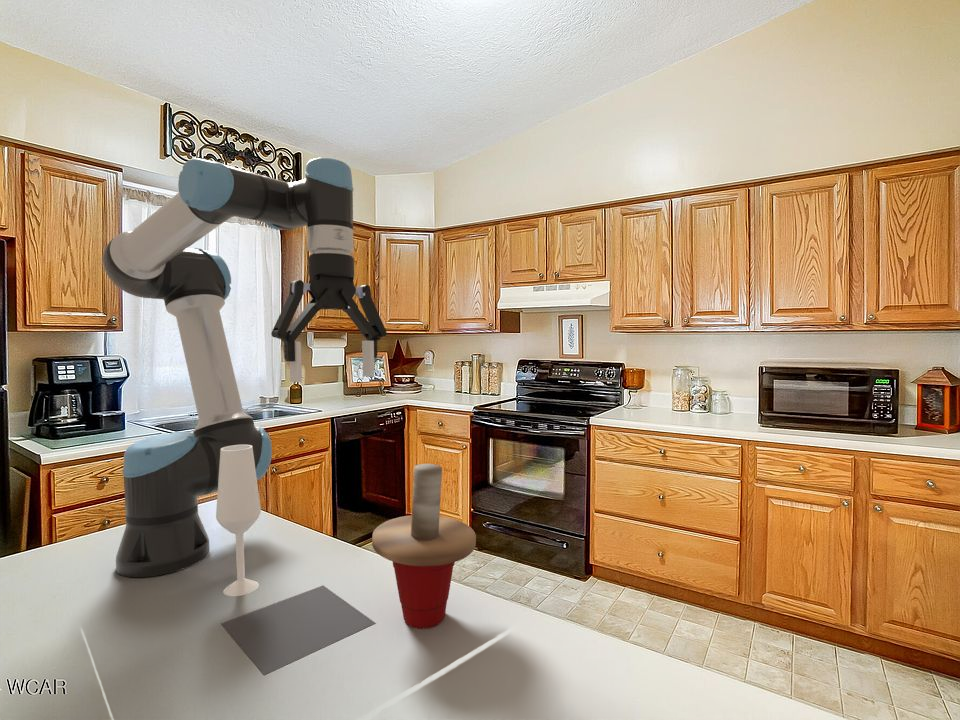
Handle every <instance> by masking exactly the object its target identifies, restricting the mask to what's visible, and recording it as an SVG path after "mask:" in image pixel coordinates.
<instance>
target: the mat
mask: <svg viewBox="0 0 960 720" xmlns="http://www.w3.org/2000/svg"><path fill="white" fill-rule="evenodd" d="M375 624H377V623H376V622H375V621H373V620H372V618H370V617H368V616H367V615H365V614H364V613H362V612H361V611H360V610H358V609H356V608H355V607H354V606H353V605H352V604H350V603H348V602H347V601H345V599H343V598H342V597H340V596H339V595H337V594H336V593H335V592H333V591H332V590H331V589H329V588H328V587H326V586H325V585H320V586H318V587H315V588H312V589H310V590H306V591H304V592H301V593H299V594H295V595H293V596H291V597H288V598H284V599H282V600H280V601H277V602H274V603H272V604H269V605H266V606H264V607H261V608H258V609H256V610H253V611H251V612H248V613H245V614H243V615H239V616H237V617H235V618H232V619H229V620H227V621H224V622H221V623H220V625H221V626H222V627H223V628H224V630H225V631H226V632H227V634H229V635H230V637H231V638H232V639H233V641H234V642H235V643H236V644H237V645H238V647H240V649H241V650H242V651H243V652H244V654H246V655H247V657H248V658H249V659H250V661H251V663H253V664H254V666H256V668H257V669H258V670H259V671H260V672H261V674H262V675H263V676H266V675H268V674H270V673H273V672H274V671H276V670H278V669H280V668H283V667H286V666H287V665H289V664H291V663H294V662H296V661H299V660H300V659H302V658H304V657H307V656H309V655H312V654H313V653H316V652H318V651H320V650H321V649H324V648H326V647H328V646H330V645H333V644H334V643H336V642H339V641H341V640H343V639H345V638H348V637H350V636H352V635H354V634H356V633H358V632H360V631H363V630H366V628H369V627H371V626H373V625H375Z"/></svg>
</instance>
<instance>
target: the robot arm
mask: <svg viewBox="0 0 960 720" xmlns="http://www.w3.org/2000/svg"><path fill="white" fill-rule="evenodd" d="M304 175H305V178H304V179H300V180H298V181H293V182H287V181H283V180H281V179H276V178H272V177H269V176H265V175H263V174H257V173H255V172H252V171H249V170H248V171H247V170H244V169H241V168H237V167H234V166H231V165H227V164H224V163H222V162H219V161H213V160H207V159H204V158H203V159H202V158H190V159H188V160H187V161H186V162H184V164H183V165H182V170H181V171H180V173H179V175H178V181H177V182H178V183H177V185H178V186H177V187H178V192H177V193H176V194H175V195H174V196H173V197H171V198H170V199H169V200H168V201H167V202H165V203H164V204H163V205H161V206H160V207H159V208H158V209H156V211H154V212H153V213H152V214H151V215H149V216H148V217H147V218H146V219H145V220H144V221H142V222H141V223H140V224H139V225H138V226H136V228H134V229H133V230H130V231H129V230H128V231H123V232H121V233H118V234H117V235H116V236H115V237H113V238H112V239H111V240H110V241H109V242H108V243H107V244H106V247H105V248H104V251H103V253H102V254H103V255H102V265H103V269H104V271H105V273H106V275H107V277H108V278H109V280H110V281H111V282H112V284H114V285H115V286H116V287H117V288H119V290H121V291H124V292H125V293H127V294H128V295H131V296H134V297H137V298H142V299H153V300H154V299H155V300H157V299H158V300H163V301H164V305H165V311H166V312H167V313H169V314H170V315H172V316H174V317H175V319H176V323H177V326H178V328H177V329H178V331H179V332H178V333H179V337H180V341H181V346H182V349H183V354H184V359H185V364H186V368H187V372H188V376H189V382H190V386H191V391H192V394H193V399H194V404H195V408H196V414H197V418H198V423H197V425H196V426H195V427H194V428H193V430H192V432H191V431H176V432H170V433H163V434H157V435H154V436H150V437H146V438H144V439H141V440H138V441H136V442H134V443H132V444H131V445H130V446H128V447H127V448H126V450H125V451H124V454H123V466H122V467H123V468H122V472H121V473H122V476H123V487H124V488H123V490H124V491H123V493H124V511H125V528H124V531H123V533H122V538H121V540H120V544H119V547H118V549H117V553H116V556H115V569H116V573H118V574H119V575H120V576H123V577H128V578H129V577H130V578H147V577H150V578H151V577H157V576H161V575H167V574H171V573H175V572H178V571H181V570H184V569H187V568H189V567H191V566H193V565H197V564H198V563H199V562H201V561H203V560H204V559H205V558H206V557H208V555H209V554H210V551H211V550H210V549H211V547H210V538H209V536H208V534H207V532H206V529H205V526H204V524H203V522H202V520H201V517H200V515H199V508H198V507H199V505H198V504H199V502H198V501H199V499H198V497H202V496H206V495H210V494H213V493H218V479H219V465H220V450H221V448H223V447H227V446H232V445H252V447H253V455H254V462H255V469H256V477H257V481H258V480H260V479H262V478H263V477H264V476H265V475H266V473H267V472H268V470H269V466H270V465H271V461H272V456H273V446H272V441H271V438H270V436H269V433H268V432H266V430H265V429H264V428H263V427H261V426H255V423H254V422H255V421H254V418H253V417H252V416H250V414H247V413H245V412H244V409H243V403H242V400H241V396H240V392H239V388H238V383H237V378H236V375H235V371H234V367H233V363H232V358H231V355H230V350H229V346H228V341H227V337H226V334H225V329H224V324H223V321H222V317H221V312H220V311H221V309H222V308H223V307H224V306H225V304H226V300H227V298H228V297H229V296H230V293H231V291H232V288H231V286H230V285H231V284H232V277H231V272H230V268H229V266H228V264H227V263H226V261H225V260H224V259H223V258H222V256H220V255H219V254H217V253H216V252H214V251H211V250H204V249H202V248H199V247H192V248H190V247H191V246H192V245H194V244H195V243H197V242H198V241H200V240H201V239H202V238H204V237H205V236H207V235H208V234H209V233H211V232H212V231H213V230H216V229H217V228H218V227H219V226H220V225H222V224H224V223H225V222H227V221H228V220H229V219H231V218H233V217H235V218H236V217H237V218H241V219H248V220H251V221H252V220H253V221H258V222H263V223H265V225H267V226H268V227H269V228H271V229H273V230H277V231H283V230H286V231H291V230H294V229H298V228H301V227H307V251H308V252H309V253H310V254H309V256H308V257H307V258H308V259H307V260H308V261H307V265H308V268H307V269H308V277H309V281H308V282H304V281H303V280H301V279H298V280H293V281H290V284H289V294H288V296H287V298H286V300H285V303H284V304H283V307H282V309H281V311H280V314H279V315H278V318H277V320H276V322H275V324H274V326H273V328H272V330H271V337H273V338H276V339H278V340H281V341H282V342H283V352H284V353H283V356H284V358H283V359H284V361H285V362H289V378H290V379H289V381H290V382H292V383H302V382H303V378H302V377H303V373H302V372H303V371H302V369H303V368H302V366H303V365H302V342H301V341H296V340H297V339H298V337H299V336H300V335H301V333H302V332H303V331H304V330H305V329H306V327H307V326H308V325H309V323H310V322H311V321H312V320H313V318H314V317H315V316H316V315H317V313H318V312H319V311H320V310H332V311H333V310H334V311H341V310H342V311H343V312H344V313H346V314H347V316H348V317H349V318H350V319H351V321H352V322H353V324H355V326H356V328H357V329H358V330H359V332H360V333H361V334H362V335H363V337H364V338H365V339H366V340H362V341H361V352H362V353H361V356H362V358H361V359H362V362H361V363H362V377H366V378H367V377H368V378H375V359H376V358H378V341H379V340H381V338H383V337H386V336H387V334H388V333H387V329H386V328H385V325H384V323H383V320H382V318H381V316H380V314H379V312H378V309H377V306H376V305H375V303H374V300H373V298H372V292H371V286H370V285H369V284H364V285H363V284H362V285H360V286H355V283H354V279H355V259H354V257H353V256H352V254H354V253H355V252H354V250H355V248H354V208H353V207H354V203H353V202H354V198H353V196H354V193H353V192H354V185H353V178H352V177H353V176H352V169H351V167H350V166H349V165H348V164H347V163H346V162H344V161H341V160H339V159H336V158H330V157H329V158H328V157H318V158H313V159H310V160H309V161H307V163H306V165H305V173H304ZM307 292H308V294H309V295H310V297H311V298H310V300H309V301H308V302H307V303H306V305H305V308H304V309H303V310H302V312H301V313H300V314H299V315H298V316H297V318H296V319H295V320H294V321H293V323H292V324H291V322H292V320H293V319H294V316H295V313H296V311H297V309H298V308H299V305H300V303H301V301H302V298H303V296H304V295H305V294H306V293H307ZM354 296H355V297H356V298H358V302H359V304H360V306H361V309H362V311H363V313H362V311H361V310H360V309H359V305H358V303H356V301H355V300H354Z"/></svg>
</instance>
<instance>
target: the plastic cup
mask: <svg viewBox="0 0 960 720" xmlns="http://www.w3.org/2000/svg"><path fill="white" fill-rule="evenodd" d="M455 563H456V562H453V563H449V564H445V565H438V566H411V565H405V564H400V563H396V562H393V561H392V566H393V569H394V570H393V571H394V575H395V576H394V577H395V581H396V586H397V592H398V597H399V603H400V605H401V612H402V616H403V620H404V621H405V623H406V625H407V626H409V627H411V628H413V629H419V630H421V629H430V628H433V627H437V626H438V625H440V624H441V623H442V622H443V620H444V619H445V617H446V610H447V605H448V604H447V603H448V600H449V594H450V589H451V582H452V577H453V571H454V566H455Z"/></svg>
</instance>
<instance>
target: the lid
mask: <svg viewBox="0 0 960 720" xmlns="http://www.w3.org/2000/svg"><path fill="white" fill-rule="evenodd" d="M442 475H443V467H442V466H441V465H438V464H433V463H421V464H420V463H419V464H416V465H415V466H414V467H413V482H412V483H413V487H412V490H413V491H412V509H411V515H404V516H399V517H396V518H391V519H389V520H385V522H382V523H381V524H379V525H377V527H376V528H374V530H373V532H372V537H371V538H372V540H371V542H372V543H371V546H372V549H373V550H374V551H375V552H376V553H377V554H378V555H379V556H380V557H382V558H384V559H386V560H388V561H390V562H392V563H393V562H396V563H400V564H405V565H411V566H438V565H445V564H449V563H453V562H455V563H457V562H459V561H461V560H463V559H465V558H467V557H469V556H470V554H472V553H473V552H474V550H475V548H476V544H477V535H476V532H475V531H474V529H473V528H471V527H470V525H468V524H466V523H465V522H463V521H460V520H458V519H456V518H452V517H447V516H443V515H442V516H441V515H440V511H441V495H442V494H441V493H442V492H441V491H442V480H443V479H442Z"/></svg>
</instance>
